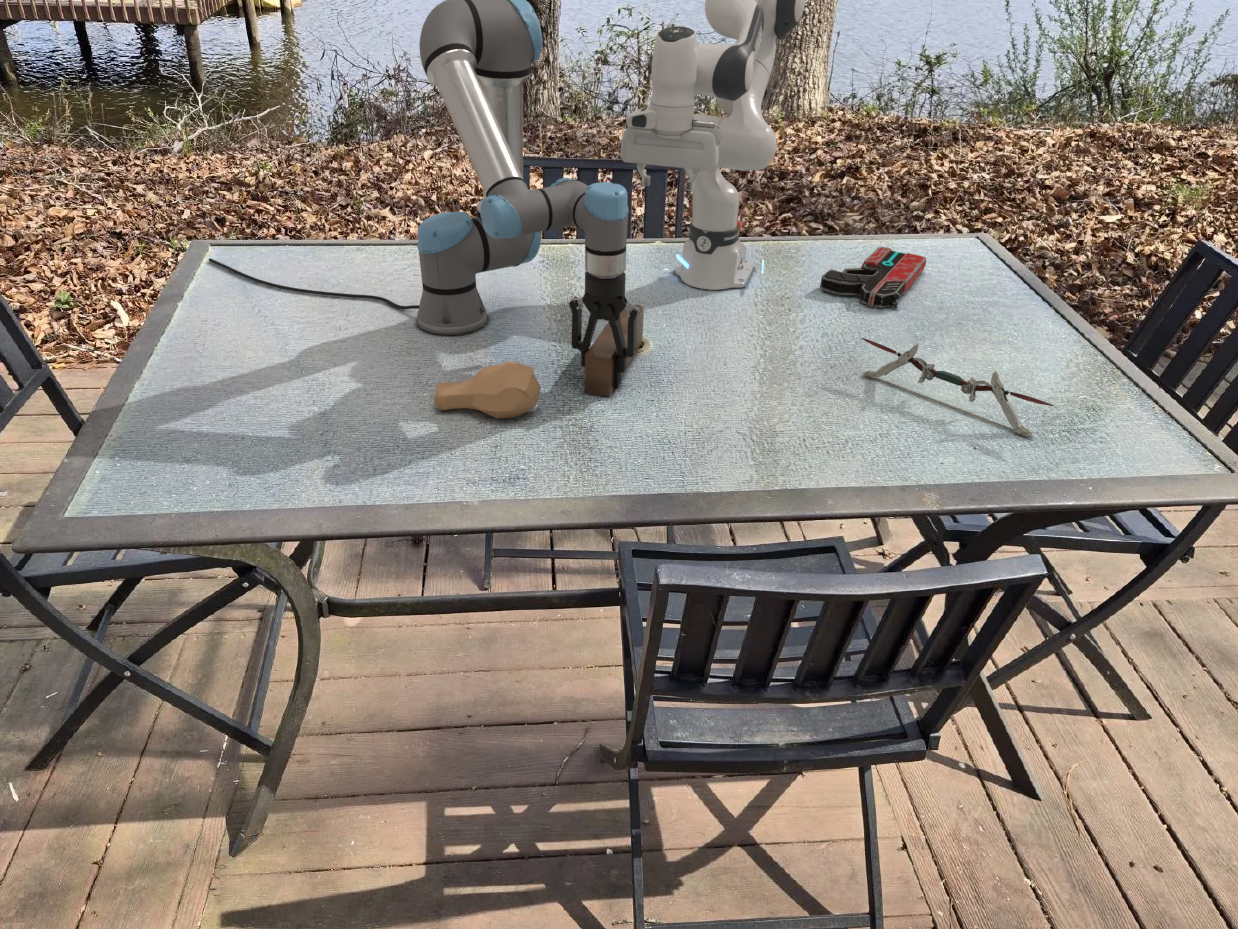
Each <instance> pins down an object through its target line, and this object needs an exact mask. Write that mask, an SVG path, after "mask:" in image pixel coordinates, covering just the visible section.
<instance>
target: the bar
mask: <svg viewBox="0 0 1238 929" xmlns="http://www.w3.org/2000/svg"><path fill="white" fill-rule="evenodd" d="M633 305H634V304H633ZM635 305H636V304H635ZM635 305H634V306H635ZM639 306H640V307H641V309H640V311H639V314H638V316H637V350H636V352H635V354H634V355H633V357H627V363H626V369H625V371H624V373H621V378H622V377H623V376H624V374H625V373H626V371H627V369H628V367H629V365H630V364H631V362H632V361H633V359H634V357H635V356H636V354H637V352H638V351H639V349H640V348H641V346H642V344H643V338H644V337H643V336H644V335H643V334H644V317H645V316H644V314H645V306H642V305H639ZM620 317H621V325H622V330H623V334H624V338H625V342H626V347H627V342H628V319H629V317H628V316H627V311H626V310H625V309H624V310H623V311H622V312H621V313H620ZM617 354H618V353H617V349H616V345H615V341H614V337H613V333H612V328H611V327H610V324H609V321H607V323H606V325H605V326H604V327H603V329H602V330H601V331H600V333H599V334H598V336H597V337H596V339H595V340H594V341H593V343H591V346H590V347H589V350H588V351H587V353H586V354H585V367H584V394H588V395H594V396H599V397H600V396H601V397H605V398H610V397H611V396H612V394H613V392H614V391H615V389H614V359H615V357H616V355H617Z"/></svg>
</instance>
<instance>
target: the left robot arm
mask: <svg viewBox="0 0 1238 929" xmlns="http://www.w3.org/2000/svg"><path fill="white" fill-rule="evenodd" d="M535 11H536V10H535V9H534V7H533V6H532V5H531V3H530V2H529V1H527V0H443V1H442V2H440V3H438V4H436V5H435V6H434V8H432V9H431V11H430V12H429V13H428V15H427V17H426V18H425V20H424V22H423V24H422V27H421V32H420V36H419V56H420V62H421V66H422V68H423V71H424V73H425V76H426V78H427V80H428V81H429V84H430V85H432V86H434V87H436V88H437V89H438V91H439V94H440V96H441V99H442V101H443V103H444V105H445V107H446V109H447V112H448V115H449V116H450V119H451V121H452V123H453V125H454V127H455V130H456V132H457V135H458V137H459V139H460V141H461V143H462V146H463V148H464V150H465V153H466V154H467V157H468V159H469V162H470V164H471V166H472V168H473V171H474V173H475V175H476V177H477V179H478V182H479V184H480V187H481V188H482V197H483V198H482V199H481V200H480V201H478V202H477V204H476V217H471V216H470V215H469V213H466V212H463V211H452V212H451V211H445V212H440V213H437V214H434V215H431V216H429V217H427V218H426V219H424V220H423V221H422V222H421V223H420V224H419V226H418V227H417V232H416V233H417V245H416V246H417V247H416V248H417V251H418V258H419V267H420V275H421V276H420V278H421V284H422V292H421V297H420V302H419V304H417V305H400V304H397V303H395V302H393V301H391V300H390V299H387V298H385V297H382V296H378V295H368V294H355V293H353V294H352V293H344V292H332V291H331V292H330V291H320V290H313V289H305V288H297V287H292V286H287V285H283V284H278V283H273V282H269V281H266V280H262V279H259V278H256V277H253V276H251V275H248V274H246V273H243V272H241V271H240V270H237V269H235V268H233V267H231V266H228V265H227V264H224V263H222V262H220V261H218V260H215V259H213V258H211V257H210V258H208V261H209V262H210V263H212V264H215V265H216V266H219V267H221V268H223V269H225V270H228V271H229V272H231V273H234V274H235V275H239V276H241V277H243V278H245V279H248V280H251V281H253V282H256V283H259V284H262V285H265V286H268V287H272V288H275V289H276V288H277V289H281V290H287V291H292V292H297V293H303V294H311V295H320V296H331V297H343V298H352V299H353V298H354V299H370V300H376V301H381V302H384V303H386V304H388V305H390V306H392V307H394V308H396V309H399V310H417V309H418V310H417V313H416V318H417V325H418V326H419V328H420V329H421V330H423V331H424V332H427V333H430V334H433V335H440V336H459V335H465V334H469V333H473V332H476V331H477V330H480V329H481V328H483V327H484V326H485V325H486V323H487V320H488V316H487V309H486V306H485V304H484V302H483V299H482V298H481V295H480V293H479V291H478V288H477V278H476V277H477V276H476V275H477V274H480V273H484V272H491V271H495V270H500V269H501V270H502V269H506V268H510V267H511V268H512V267H513V268H515V267H519V266H521V265H523V264H527V263H530V262H532V261H533V260H534V259H535V257H537V255H538V253H539V251H540V248H541V243H542V232H550V231H554V230H561V229H565V228H572V227H573V228H574V227H575V228H576V229H578V230H580V231H582V232H584V270H585V273H584V293H583V296H581V297H578V296H573V297H572V298H571V299H570V301H569V302H568V306H569V308H570V311H571V348H572V349H574V350H578V351H580V361H581V362H580V365H581V367H583V368H585V354H586V353H587V351H588V350H589V349H590V347H591V346H592V340H593V338H594V335H595V330H596V327H597V324H598V322H599V320H601V321H602V320H604V321H607V322H609V324H610V327H611V328H612V333H613V337H614V341H615V345H616V349H617V353H618V354H617V355H616V357H615V359H614V390H615V389H616V390H618V389H619V387H620V385H621V384H622V377H621V373H624V374H625V372H626V371H625V369H626V363H627V357H633V355H634V354H635V352H636V350H637V316H638V314H639V311H640V309H641V307H640V306H641V305H639V304H635V306H634V304H631V303H630V302H628V299H627V297H626V280H627V277H626V276H627V275H626V273H625V271H626V269H627V244H628V243H627V242H628V223H629V221H628V220H629V218H628V216H629V205H628V204H629V203H628V201H629V200H628V191H627V189H626V188H625V187H624V186H623V185H622V184H619V183H613V182H610V181H609V182H607V181H601V182H594V183H591V184H589V185H587V184H585V182H582V181H580V180H578V179H574V178H571V177H562V178H558V179H556V180H555V181H554V182H553V183H551V184H550V186H547V187H542V188H540V187H539V188H534V189H529V188H528V186H527V183H526V182H525V179H524V82H525V81H527V79H528V78H529V77H530V76H531V63H532V64H533V63H535V62H536V61H538V60H539V59H540V57H541V54H542V52H543V34H542V33H543V32H542V28H541V24H540V21H539V18H538V16H537V14H536V12H535ZM584 306H585V308H586V309H587V311H588V312H589V316H588V321H587V326H586V329H585V332H584V336H583V340H582V328H583V327H582V326H583V325H582V324H583V320H582V319H583V307H584ZM624 309H625V310H626V311H627V316H628V317H629V319H628V342H627V347H626V342H625V338H624V334H623V330H622V325H621V317H620V313H621V312H622V311H623V310H624ZM636 353H637V352H636ZM635 355H636V354H635ZM633 358H634V357H633ZM626 370H627V369H626ZM624 371H625V372H624Z"/></svg>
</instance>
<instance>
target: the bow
mask: <svg viewBox="0 0 1238 929" xmlns="http://www.w3.org/2000/svg"><path fill="white" fill-rule="evenodd" d="M861 340H862V341H864V342H866V343H868V344H870V345H872V346H874V347H876V348H878V349H880V350H882V351H885V352H888V353H890V354H893V355H896V356H897V357H898V358H897V359H896V360H892V361H890V362H888V363H885V364H884V365H882V366H881V367H879V368H878V369H877V370H874V371H873V370H865V371H864V372H863V375H864V376H865V377H866V378H869V379H875V380H879V381H881V382H882V383H886V384H889V385H891V386H894V387H897V388H900V389H902V390H905V391H908V392H910V393H913V394H915V395H918V396H921V397H923V398H926V399H928V400H931V401H934V402H937V403H940V404H942V405H945V406H947V407H950V408H953V409H955V410H957V411H962V412H964V413H966V414H969V415H970V416H973V417H977V418H978V419H979V418H980V419H982V420H984V421H987V422H990V423H993V424H994V425H997V426H1000V427H1003V428H1006V429H1008V430H1011V431H1014V432H1015V433H1017V434H1018V435H1020V436H1023V437H1030V436H1031V435H1032V434H1033V432H1031V431H1030V430H1028V429H1027V428H1026V427H1025V426H1023V425H1022V424H1021V420H1020V418H1019V415H1018V414H1017V412H1016V410H1015V408H1014V407H1013V405H1012V403H1011V402H1010V401H1009V399H1008V397H1007V396H1008V395H1010V396H1012V397H1015V398H1017V399H1021V400H1022V401H1023V400H1024V401H1027V402H1031V403H1033V404H1038V405H1043V406H1049V407H1054V406H1055V404H1052V403H1049V402H1047V401H1044V400H1041V399H1038V398H1035V397H1033V396H1029V395H1025V394H1022V393H1019V392H1014V391H1009V390H1006V389H1005V388H1004V385H1005V384H1003V383H1002V381H1001V379H1000V377H999V372H998V371H997V370H995V371H994V372H992V375H991V378H990V382H988V381H986V380H977V379H975V378H974V377H971V378H970V379H968V380H967V381H966V380H965V379H964V378H963V377H961V376H960V375H957V374H954V373H952V372H948V371H945V370H937V369H935V366H936V365H935V363H929V364H928V363H927V362H926V361H925V360H924V359H923V358H920V357H915V355H917V352H918V349H919V343H915V344H914V345H913V346H912V347H911V348H910V349H908V350H906V351H904V352H903V353H901V352H897V351H896V350H894V349H892V348H890V347H888V346H886V345H884V344H881V343H878V342H876V341H873V340H870V339H866V338H865V337H861ZM907 364H912V366H914V367H915V368H916V369H918V371H920V372H921V374H920V377H919V378H918V380H917V383H919V384H921V385H923V383H925V380H927V381H932V380H933V379H934V378H936V379H939V380H942V381H944V382H947V383H950V384H953V385H955V386H958V387H961V388H960V390H961V392H962V393H963V394H964V395H965V394H966V395H969V396H968V402H970V403H973V402H975V401H976V397H977V395H976V392H991V393H992V394H993V396H994V398H995V399H996V400H997V402H998V403H999V405H1000V408H1001V410H1002V413H1003V414H1004V416H1005V417H1006V420H1007V422H1008V424H1009V425H1010V427H1008V426H1006V425H1003V424H1001V423H998V422H995V421H993V420H990V419H987V418H984V417H983V416H979V415H976V414H973V413H971V412H969V411H966V410H964V409H961V408H958V407H955V406H952V405H950V404H947V403H945V402H942V401H939V400H937V399H934V398H932V397H929V396H926V395H923V394H920V393H918V392H915V391H913V390H910V389H907V388H904V387H902V386H899V385H897V384H895V383H892V382H889V381H886V380H883V379H881V377H883V376H888V375H889V374H891V373H892V372H893V371H895V370H896V369H898V368H901V367H902V366H904V365H907Z"/></svg>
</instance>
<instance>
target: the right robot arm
mask: <svg viewBox="0 0 1238 929" xmlns="http://www.w3.org/2000/svg"><path fill="white" fill-rule="evenodd" d="M805 6H806V0H705V1H704V13H705V16H706V19H707V22H708V24H709V25H710V27H711V28H712V30H714V31H715V32H716V33H717V34H718V35H720V36H722V37H726V38H729V39H733V40H736V41H735V43H734V44H719V43H710V42H709V43H708V42H700V41H698V40H697V35H696V31H695V30H694V29H692V28H690V27H687V26H682V25H681V26H677V25H676V26H671V27H669V26H668V27H666V28H662V29H661V30H660V31H659V32H657V34H656V37H655V41H654V46H653V52H652V62H651V78H650V79H651V84H652V92H651V95H650V96H651V97H650V100H649V102H650V103H649V106H646V107H643V108H638V109H636V110H634V111H632V112H631V113H629V114H628V115H627V117H626V126H627V127H626V129H624V131H623V132H622V137H621V142H620V159H621V161H622V162H623V163H630V164H636V170H637V172H638V173H639V175H640V177H641V186H643V187H650V185H651V178H652V176H651V175H648V173H647V172H646V169H645V168H646V167H647V165H648V166H659V167H668V168H678V169H684V172H685V173H686V175H687V178H688V179H687V180H686V182H685V191H688V192H689V191H691V193H692V212H691V213H692V214H691V221H690V223H689V227H688V240H686V241H685V242H683V245H682V250H681V251H682V252H681V255H680V254H678V253H677V254H676V257H675V258H676V259H677V260H678V261H679V262H680V265H679V266H677V267H676V268H675V270H674V273H675V274H676V275H677V276H679V277H680V279H681V281H682V282H683V283H684V284H686V285H688V286H691V287H692V288H693V287H694V288H697V289H701V290H712V291H713V290H714V291H717V290H726V289H733V288H734V289H739V288H744V287H745V286H746V284H747V283H748V280H749V279H750V276H751V274H752V272H753V270H754V264H753V262H750V261H747V260H746V259H747V258H746V257H747V247H746V246H745V244H743V242H742V241H741V240H740V230H741V229H742V227H743V221H741V220H738V219H739V208H740V201H741V200H740V194H739V192H738V190H737V188H736V187H735V186H734V184H732V183H730V182H729V181H728V180H727V179H726V178H725V177H724V175H723V174H722V171H721V169H727V170H733V171H741V172H752V171H763V170H765V169H766V168H767V167H769V165H771V163H772V161H773V160H774V158H775V155H776V153H777V146H778V144H777V143H778V142H777V137H776V134H775V132H774V130H773V128H772V127H771V126H770V125H769V124H768V123H767V122H766V120H765V118H764V117H763V113H762V104H763V100H764V97H765V92H766V90H767V86H768V83H769V80H770V77H771V75H772V71H773V69H774V68H773V67H774V63H775V59H776V58H775V57H776V50H777V49H776V48H777V43H776V39H778V40H779V41H781V40H784V39H785V38H786V37H787V36H788V34H789V33H791V32H792V31H793V30H794V29H795V28H796V27H797V26H798V25H799V23H800V21H801V19H802V17H803V14H804V10H805ZM695 95H696V96H705V97H712V98H713V97H714V98H715V100H716V103H717V105H718V107H719V108H720V109H721V110H722V111H723V113H725V114H726V116H717V115H708V114H700V113H695V104H696V103H695V102H696V101H695ZM764 262H765V259H762V261H761V275H764Z"/></svg>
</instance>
